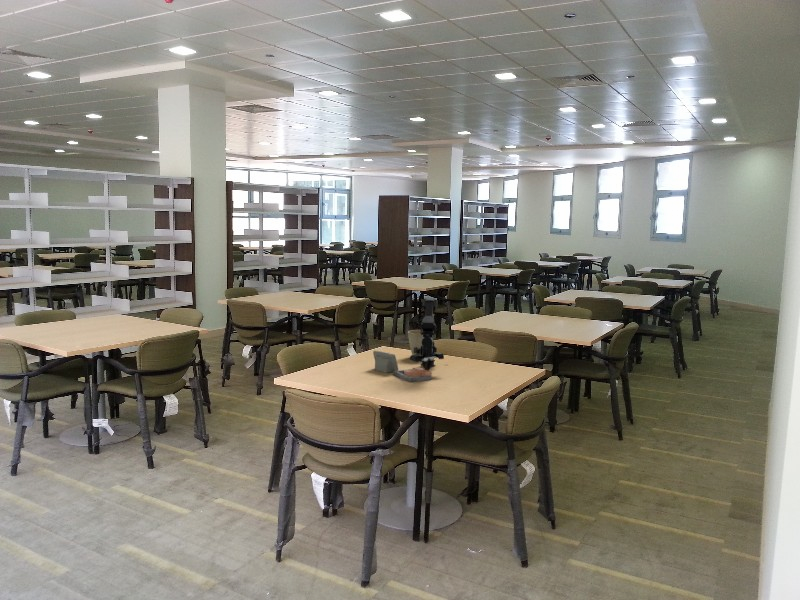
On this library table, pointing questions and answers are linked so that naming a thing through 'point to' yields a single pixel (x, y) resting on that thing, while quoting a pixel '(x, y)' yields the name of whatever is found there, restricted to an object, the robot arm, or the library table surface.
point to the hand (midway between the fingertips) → (426, 372)
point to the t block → (417, 372)
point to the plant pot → (415, 339)
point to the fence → (410, 379)
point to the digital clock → (385, 361)
